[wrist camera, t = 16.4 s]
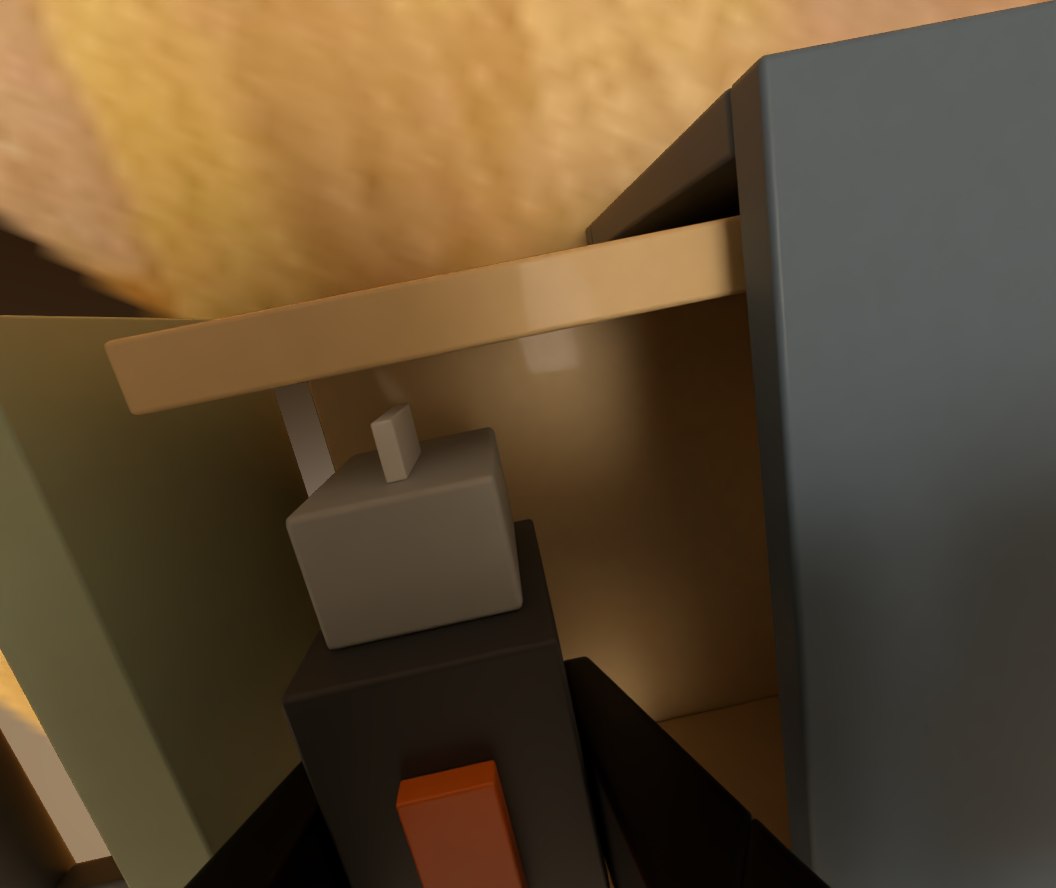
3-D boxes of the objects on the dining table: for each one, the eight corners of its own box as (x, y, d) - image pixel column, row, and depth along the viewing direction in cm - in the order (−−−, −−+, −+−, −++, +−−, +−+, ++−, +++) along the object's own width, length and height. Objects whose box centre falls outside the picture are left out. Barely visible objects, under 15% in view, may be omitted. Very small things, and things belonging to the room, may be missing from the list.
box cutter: (591, 803, 9) (649, 1075, 6) (447, 837, 9) (423, 1129, 6) (503, 375, 7) (514, 419, 4) (317, 413, 7) (167, 492, 4)
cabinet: (661, 721, 15) (830, 1115, 8) (584, 228, 12) (759, 52, 4) (1103, 621, 15) (1681, 902, 8) (1159, 114, 12) (2292, -240, 4)
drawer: (188, 834, 14) (-41, 1221, 8) (-33, 376, 11) (-704, 442, 5) (817, 692, 14) (1051, 956, 8) (790, 211, 11) (1139, 81, 5)
